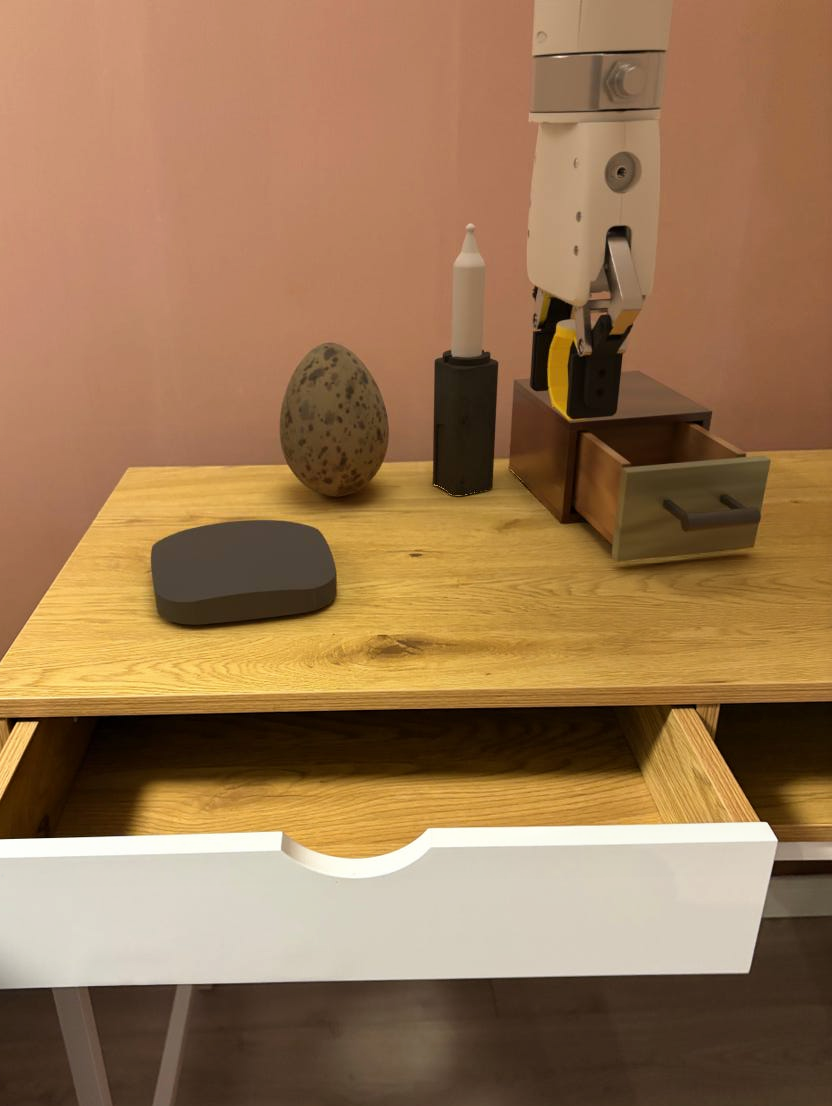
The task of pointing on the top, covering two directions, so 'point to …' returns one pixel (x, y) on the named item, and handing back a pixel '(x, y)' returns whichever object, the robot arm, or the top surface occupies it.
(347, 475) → the decorative egg
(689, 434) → the drawer
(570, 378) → the robot arm
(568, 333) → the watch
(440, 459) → the candle
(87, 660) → the top surface
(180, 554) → the media streaming box
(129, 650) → the top surface
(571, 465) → the cabinet
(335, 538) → the top surface
